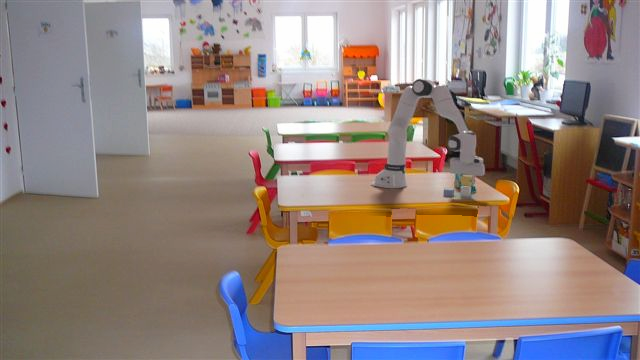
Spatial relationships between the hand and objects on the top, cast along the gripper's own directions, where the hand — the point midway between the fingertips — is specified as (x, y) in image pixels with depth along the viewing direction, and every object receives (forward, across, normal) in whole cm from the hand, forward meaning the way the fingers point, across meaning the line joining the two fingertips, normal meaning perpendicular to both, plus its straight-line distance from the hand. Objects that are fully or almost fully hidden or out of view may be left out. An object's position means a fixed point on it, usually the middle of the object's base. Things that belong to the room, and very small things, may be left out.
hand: (466, 181), depth 389 cm
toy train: (+10, -4, +19) cm, 22 cm away
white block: (+8, 0, 0) cm, 8 cm away
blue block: (+10, -9, -4) cm, 14 cm away
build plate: (+9, 0, 0) cm, 9 cm away
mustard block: (+2, 0, 0) cm, 2 cm away
